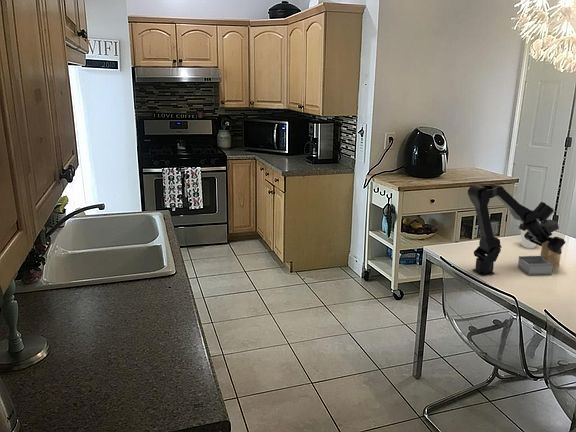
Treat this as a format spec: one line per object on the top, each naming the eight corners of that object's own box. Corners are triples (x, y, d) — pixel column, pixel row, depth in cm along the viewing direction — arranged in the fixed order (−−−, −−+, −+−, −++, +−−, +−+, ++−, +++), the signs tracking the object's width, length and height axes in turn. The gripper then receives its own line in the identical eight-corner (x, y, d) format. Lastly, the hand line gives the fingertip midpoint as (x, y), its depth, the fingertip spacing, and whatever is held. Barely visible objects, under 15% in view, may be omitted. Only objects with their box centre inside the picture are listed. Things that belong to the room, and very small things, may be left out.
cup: (543, 249, 233) (546, 228, 230) (522, 249, 233) (525, 228, 230) (533, 243, 243) (536, 222, 240) (514, 243, 243) (516, 222, 240)
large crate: (528, 275, 203) (530, 264, 201) (517, 267, 212) (518, 256, 211) (551, 275, 203) (553, 264, 201) (539, 266, 212) (541, 255, 211)
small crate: (547, 267, 211) (550, 241, 208) (539, 262, 217) (542, 237, 213) (559, 266, 212) (562, 241, 209) (550, 262, 217) (554, 237, 214)
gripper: (564, 221, 198) (583, 243, 204) (533, 209, 216) (550, 231, 221) (545, 240, 199) (564, 263, 204) (515, 228, 216) (534, 248, 222)
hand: (553, 250), depth 213 cm, fingers open, 8 cm apart
